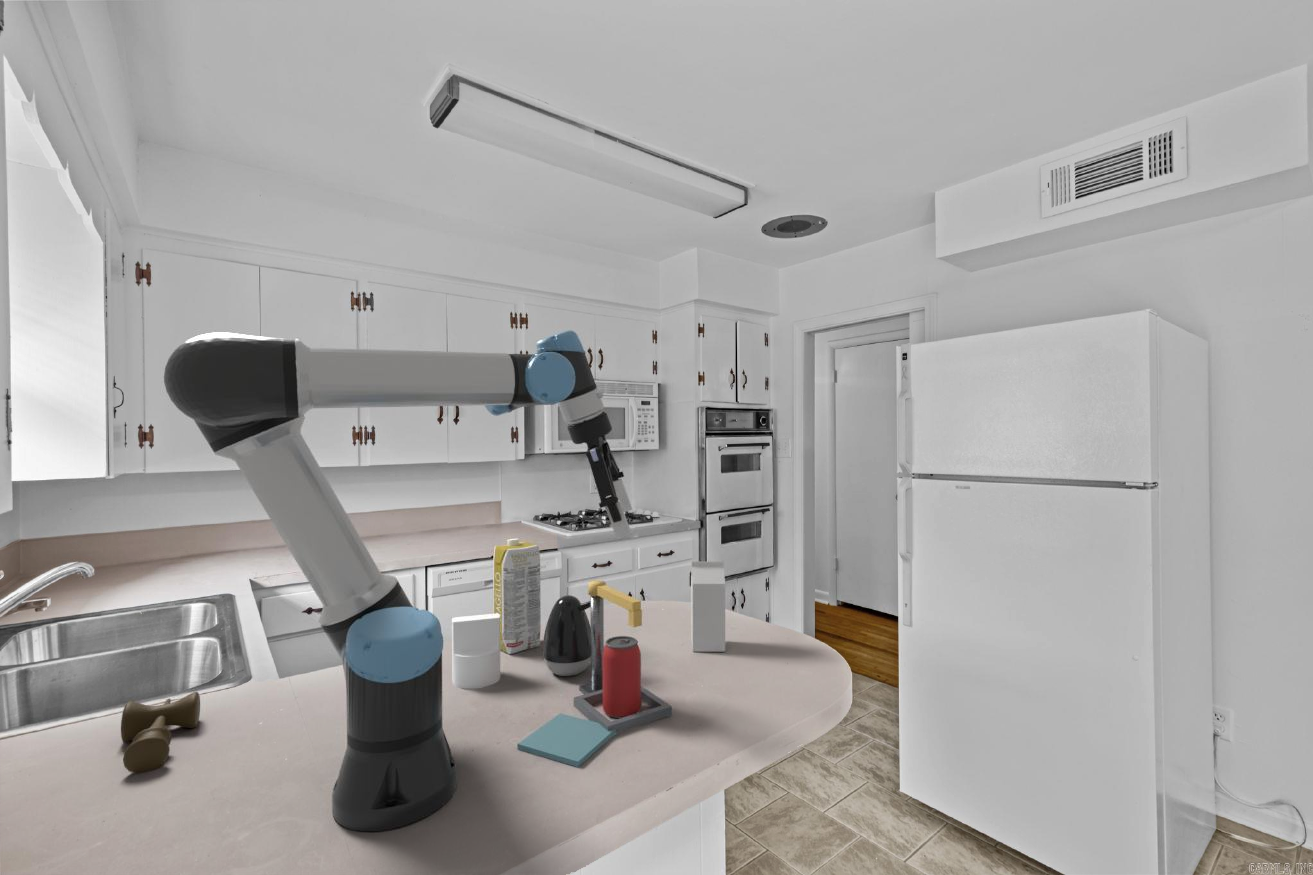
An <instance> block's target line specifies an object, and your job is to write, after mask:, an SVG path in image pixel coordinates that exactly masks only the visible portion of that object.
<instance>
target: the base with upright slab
mask: <svg viewBox="0 0 1313 875" xmlns="http://www.w3.org/2000/svg"><path fill="white" fill-rule="evenodd" d="M499 680H501V650H500V615H499V614H498V613H496V614H493V613H488V614H477V615H475V614H474V615H465V616H456V617H452V619H451V682H452V685H453V686H454V687H456V688H459V689H463V690H472V689H473V690H475V689H482V688H486V687H490V686H491V685H494V684H496V683H497V682H499Z"/></svg>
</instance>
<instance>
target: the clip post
mask: <svg viewBox="0 0 1313 875" xmlns="http://www.w3.org/2000/svg"><path fill="white" fill-rule="evenodd" d="M589 596H590V600H589V601H590V603H591V607H590V627H591V661H590V682H588V683H585V684H584V683H583V684H580V685H579V686H578V690H579V691H580V692H581V693H582V694H583V695H584V694H588V693H592V692H595V691H599V690H603V651H604V648H605V646H604V644H605V642H604V641H605V640H604V637H605V634H604V632H605V630H604V623H605V622H604V621H605V620H604V619H605V618H604V617H605V616H604V614H605V613H604V612H605V611H604V609H605V608H604V606H605V604H604V598H602V597H600V596H591V595H589Z"/></svg>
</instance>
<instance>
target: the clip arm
mask: <svg viewBox="0 0 1313 875" xmlns="http://www.w3.org/2000/svg"><path fill="white" fill-rule="evenodd" d="M606 584H607V582H606V581H605V580H591V581H589V582H587V586H588V587H587V590H588V592H587V594H588V595H589V596H600V597H602V598H604V599H605V600H606V601H608V602H610V603H613V604H615V605H617V606H618V607H621V608H622V609H625V610H627V611H628V625H629V626H630V627H632V628H637V627H641V626H643V611H642V607H641V606H642V601H641V600H639V599H637V598H635V597H633V596H630V595H628V594H626V593H623V592H621V591H619V590H617V589H614V588H613V587H610V586H608V585H606Z"/></svg>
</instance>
